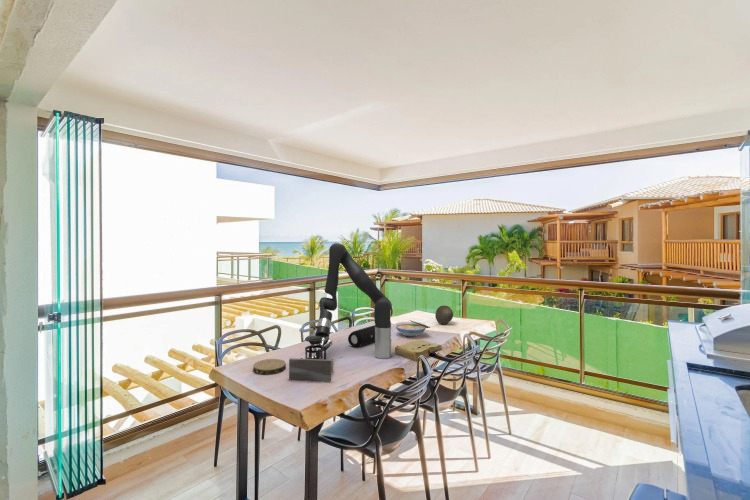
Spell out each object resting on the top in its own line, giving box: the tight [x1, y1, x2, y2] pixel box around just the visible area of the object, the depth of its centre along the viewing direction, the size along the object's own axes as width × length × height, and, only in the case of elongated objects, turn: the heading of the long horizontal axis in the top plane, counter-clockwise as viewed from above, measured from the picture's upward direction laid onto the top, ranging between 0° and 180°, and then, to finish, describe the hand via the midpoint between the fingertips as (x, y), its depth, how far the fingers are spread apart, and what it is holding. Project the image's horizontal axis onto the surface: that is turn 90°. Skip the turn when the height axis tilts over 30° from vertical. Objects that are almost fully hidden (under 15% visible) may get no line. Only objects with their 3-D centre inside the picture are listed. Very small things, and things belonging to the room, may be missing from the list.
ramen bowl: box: [394, 319, 431, 338], centre depth 253 cm, size 25×23×8 cm
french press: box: [304, 325, 327, 360], centre depth 181 cm, size 12×9×23 cm
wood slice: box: [252, 358, 287, 376], centre depth 183 cm, size 16×16×3 cm
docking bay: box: [288, 357, 334, 382], centre depth 176 cm, size 14×20×10 cm
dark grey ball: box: [434, 305, 454, 325], centre depth 288 cm, size 14×14×15 cm
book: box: [394, 338, 443, 362], centre depth 212 cm, size 25×17×6 cm
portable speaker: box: [347, 324, 375, 348], centre depth 232 cm, size 26×10×10 cm, turn 142°
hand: (317, 357), depth 186 cm, fingers closed
